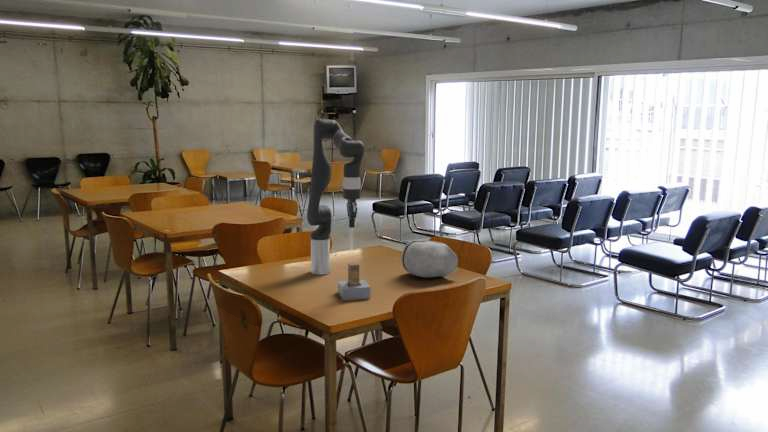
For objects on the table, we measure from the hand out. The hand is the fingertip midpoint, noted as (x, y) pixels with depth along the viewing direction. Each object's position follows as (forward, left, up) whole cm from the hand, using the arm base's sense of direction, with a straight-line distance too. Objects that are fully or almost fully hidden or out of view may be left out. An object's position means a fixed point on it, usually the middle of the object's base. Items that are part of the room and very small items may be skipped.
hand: (351, 227), depth 263 cm
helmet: (-20, +43, -29) cm, 56 cm away
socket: (+5, 0, -29) cm, 29 cm away
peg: (+5, 0, -29) cm, 29 cm away
